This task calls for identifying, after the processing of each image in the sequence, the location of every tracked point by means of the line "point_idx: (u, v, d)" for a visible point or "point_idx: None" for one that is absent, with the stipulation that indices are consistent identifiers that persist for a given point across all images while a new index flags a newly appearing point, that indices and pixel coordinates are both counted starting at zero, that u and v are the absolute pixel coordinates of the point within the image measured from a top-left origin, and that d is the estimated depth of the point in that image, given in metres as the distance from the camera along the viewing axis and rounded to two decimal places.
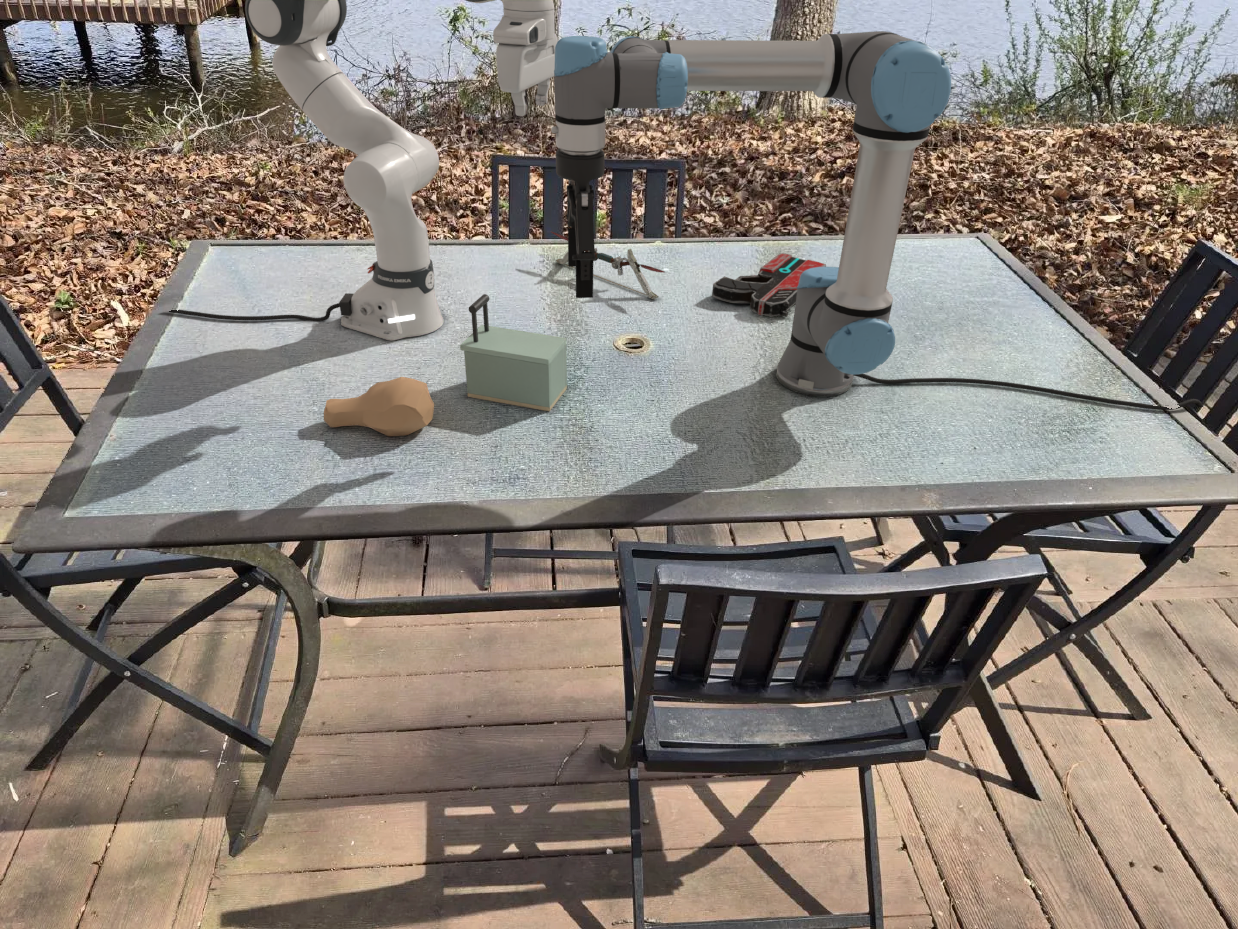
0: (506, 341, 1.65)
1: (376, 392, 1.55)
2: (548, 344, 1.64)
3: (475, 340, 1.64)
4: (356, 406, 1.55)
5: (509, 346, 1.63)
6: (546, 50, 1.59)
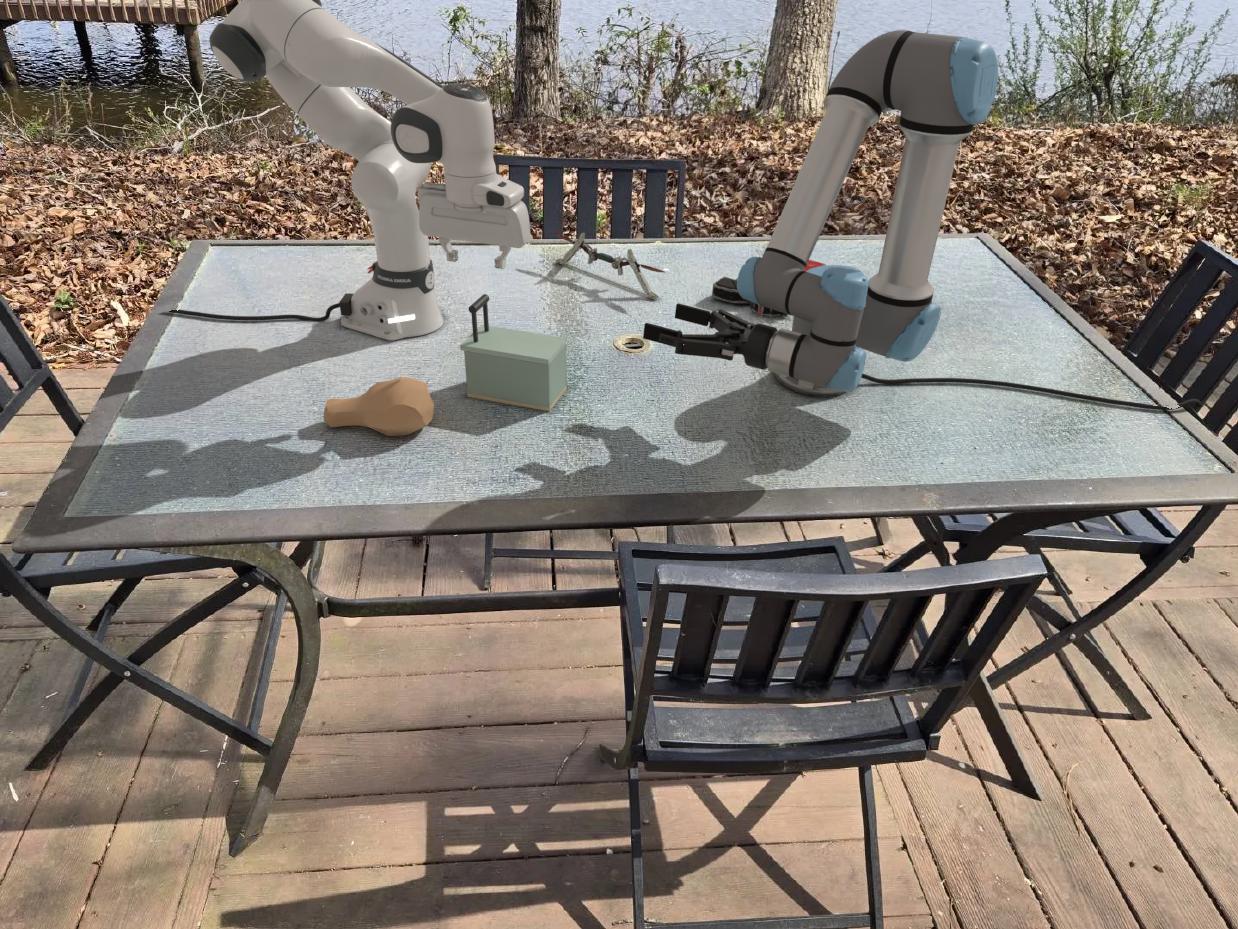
0: (506, 341, 1.65)
1: (376, 392, 1.55)
2: (548, 344, 1.64)
3: (475, 340, 1.64)
4: (356, 406, 1.55)
5: (509, 346, 1.63)
6: None
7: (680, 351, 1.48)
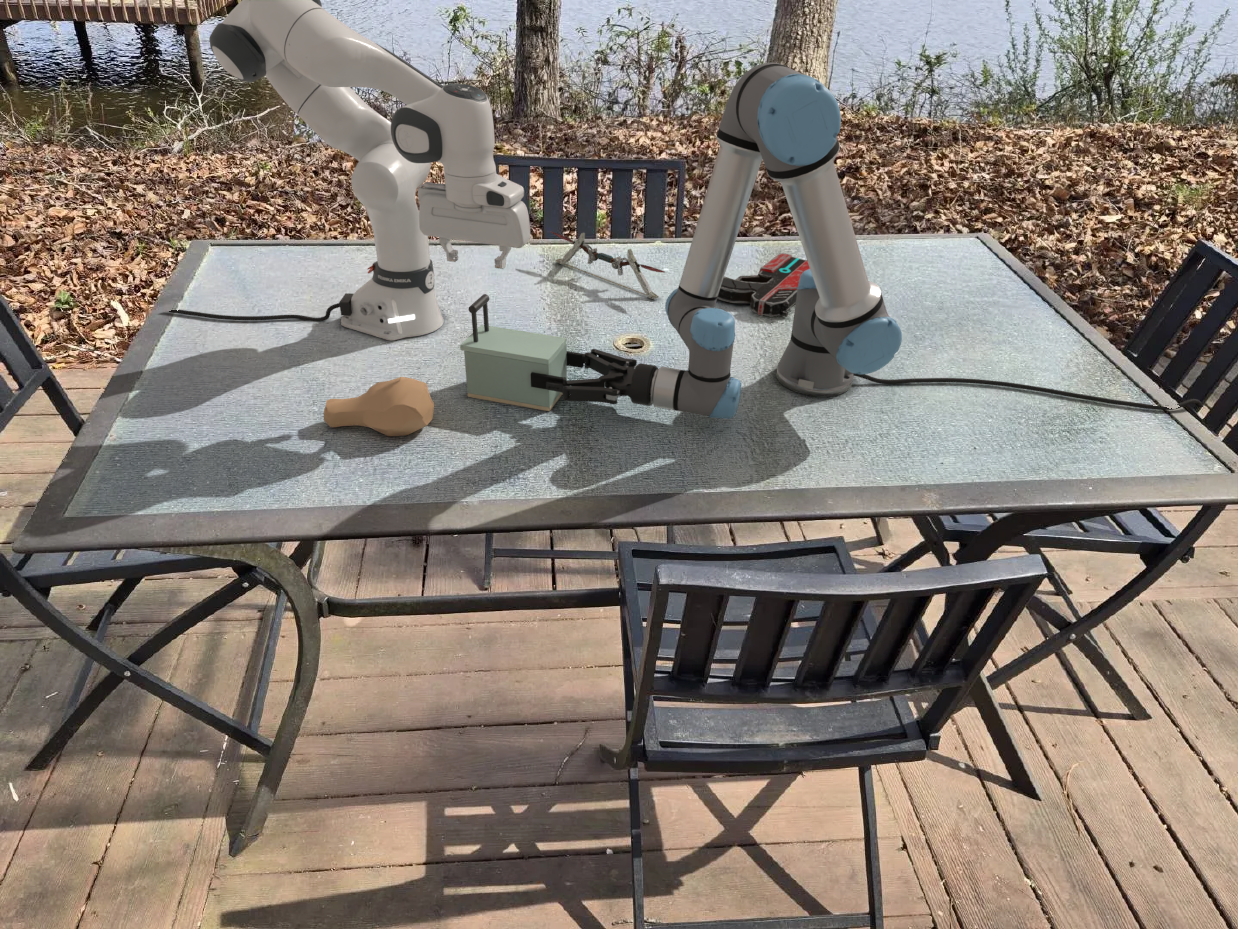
0: (506, 341, 1.65)
1: (376, 392, 1.55)
2: (548, 344, 1.64)
3: (475, 340, 1.64)
4: (356, 406, 1.55)
5: (509, 346, 1.63)
6: None
7: (568, 398, 1.58)
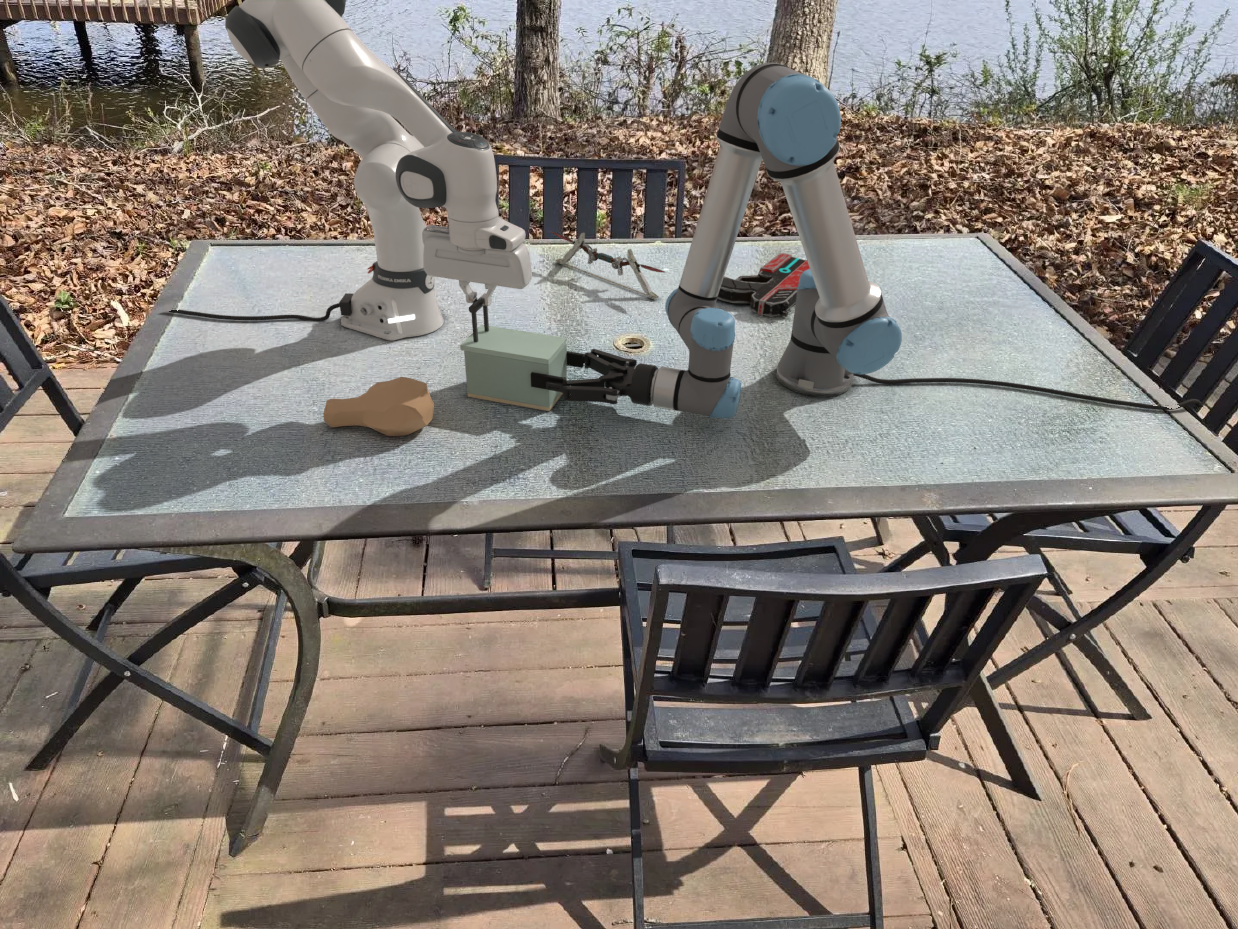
0: (506, 341, 1.65)
1: (376, 392, 1.55)
2: (548, 344, 1.64)
3: (475, 340, 1.64)
4: (356, 406, 1.55)
5: (509, 346, 1.63)
6: None
7: (568, 398, 1.58)
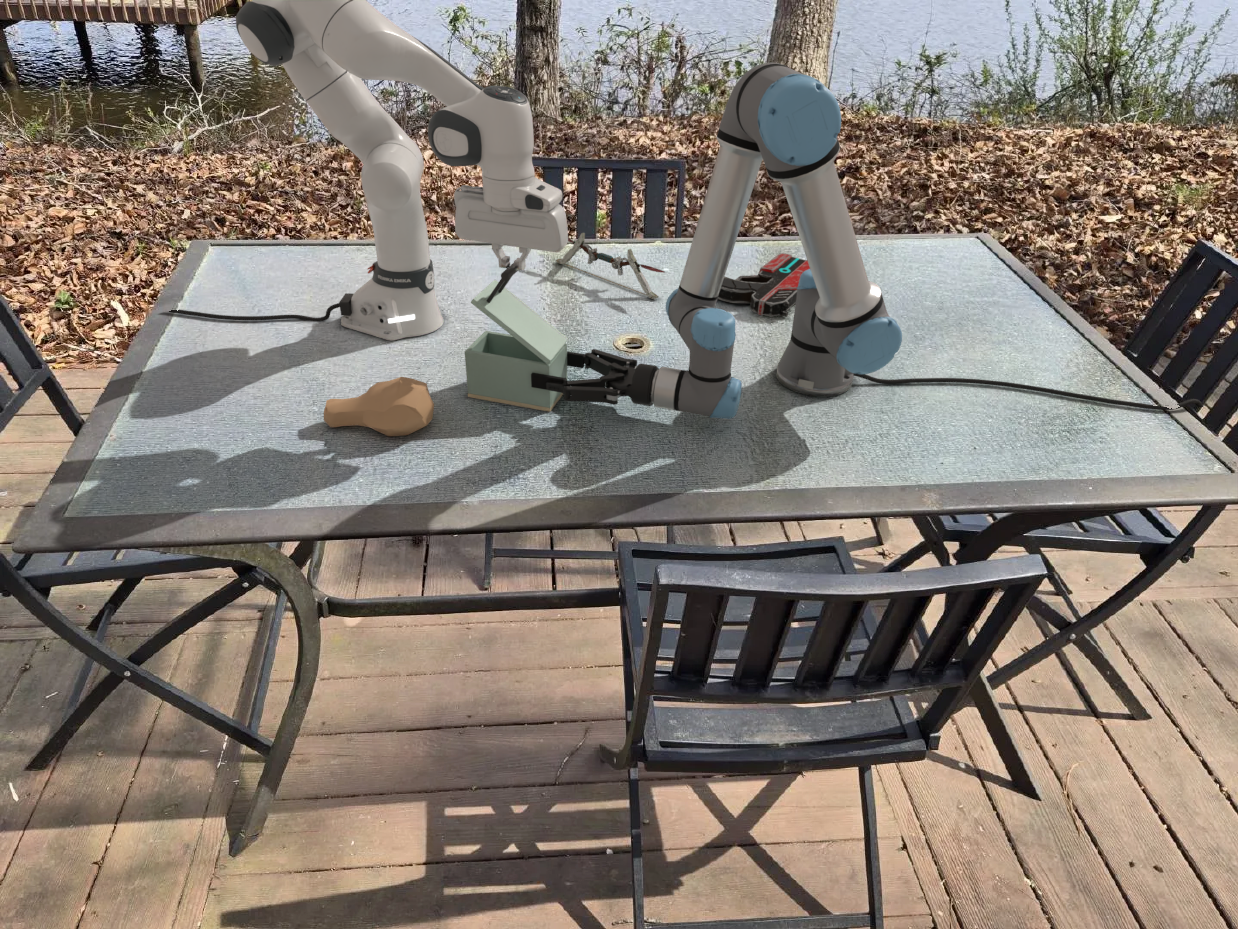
0: (515, 315, 1.61)
1: (376, 392, 1.55)
2: (552, 339, 1.63)
3: (489, 300, 1.58)
4: (356, 406, 1.55)
5: (518, 324, 1.60)
6: None
7: (568, 398, 1.58)
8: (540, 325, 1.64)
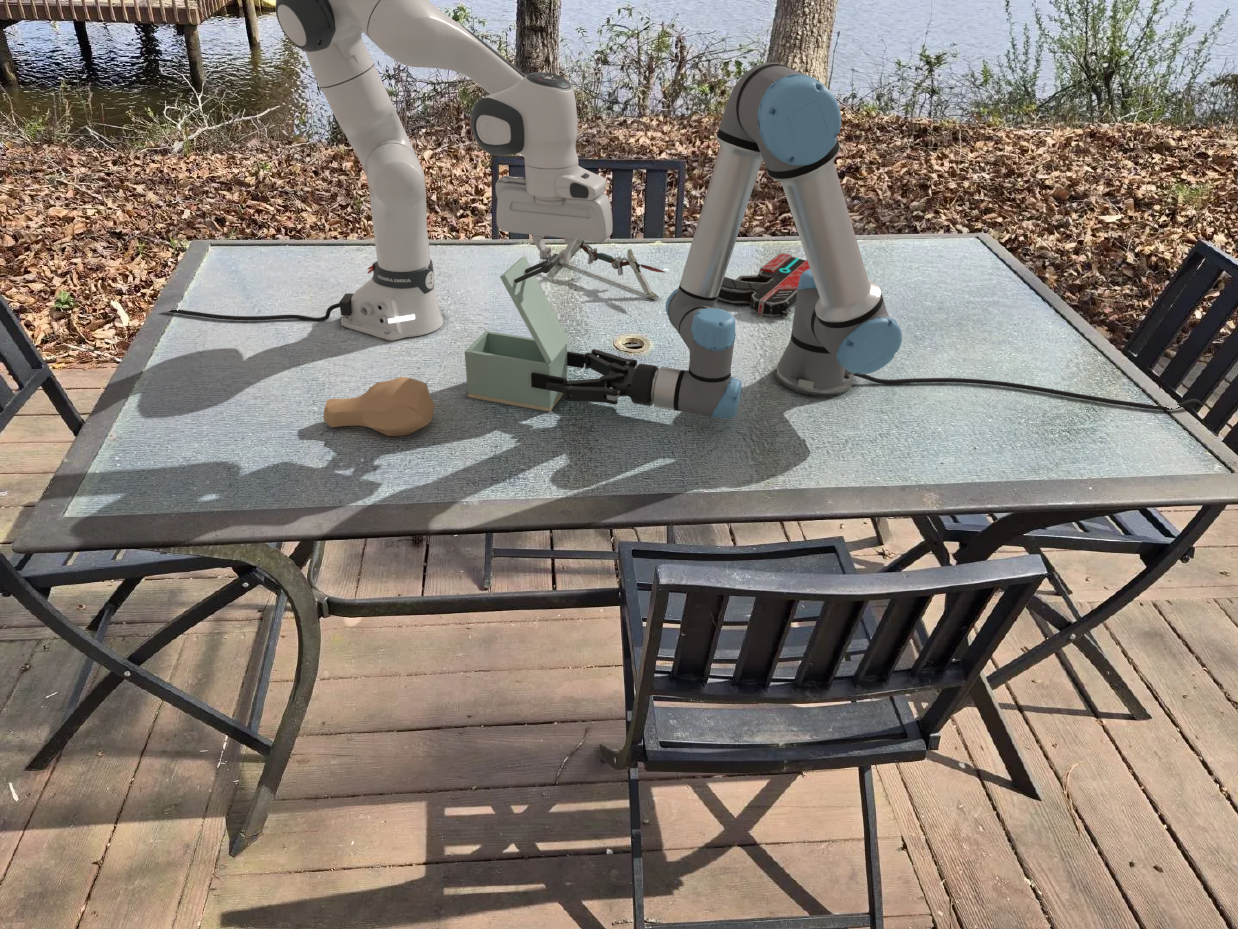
0: (533, 303, 1.59)
1: (376, 392, 1.55)
2: (557, 337, 1.63)
3: (516, 281, 1.55)
4: (356, 406, 1.55)
5: (534, 314, 1.58)
6: None
7: (568, 398, 1.58)
8: (550, 319, 1.63)
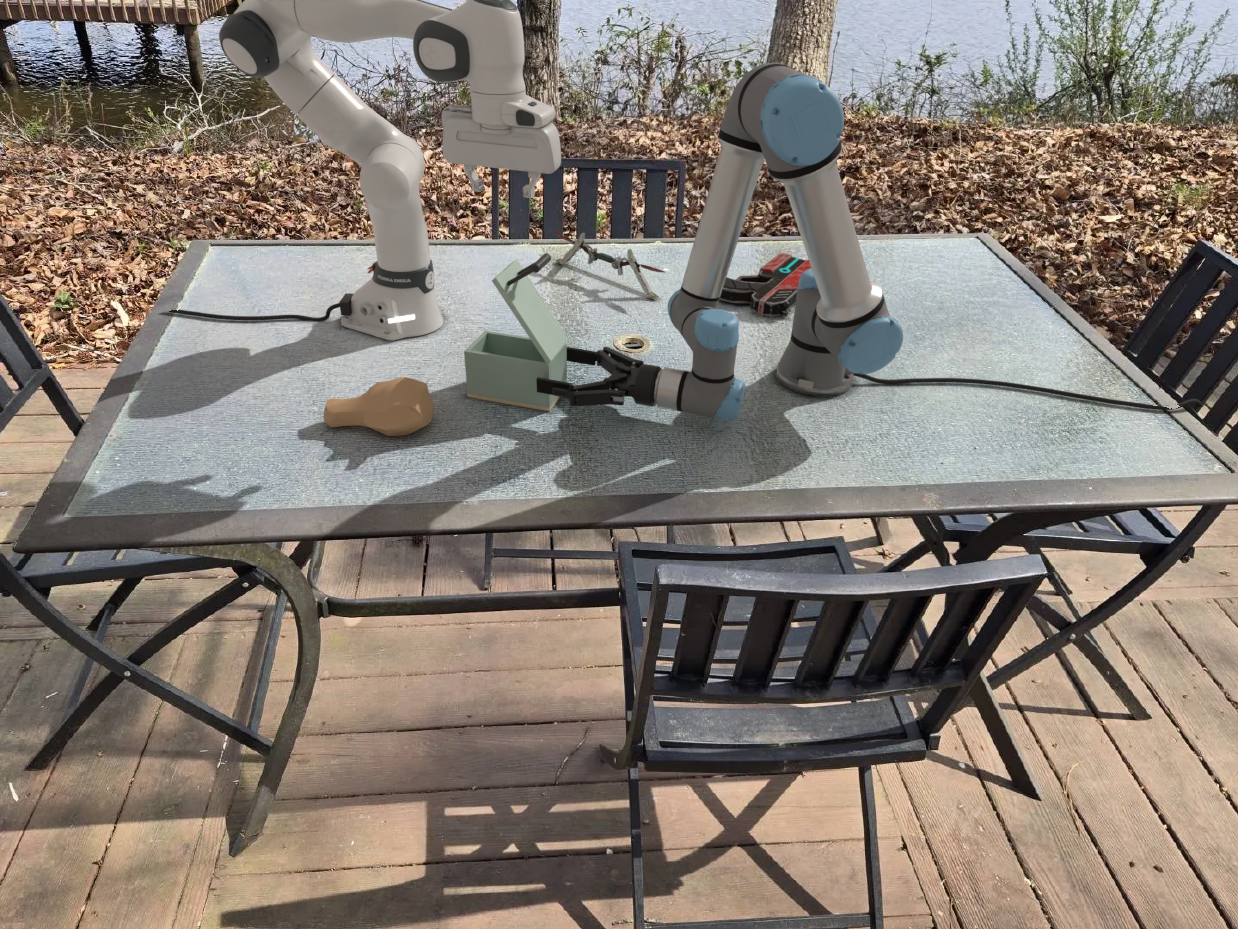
0: (528, 304, 1.59)
1: (376, 392, 1.55)
2: (555, 337, 1.63)
3: (509, 283, 1.55)
4: (356, 406, 1.55)
5: (529, 315, 1.58)
6: None
7: (574, 403, 1.56)
8: (547, 319, 1.63)
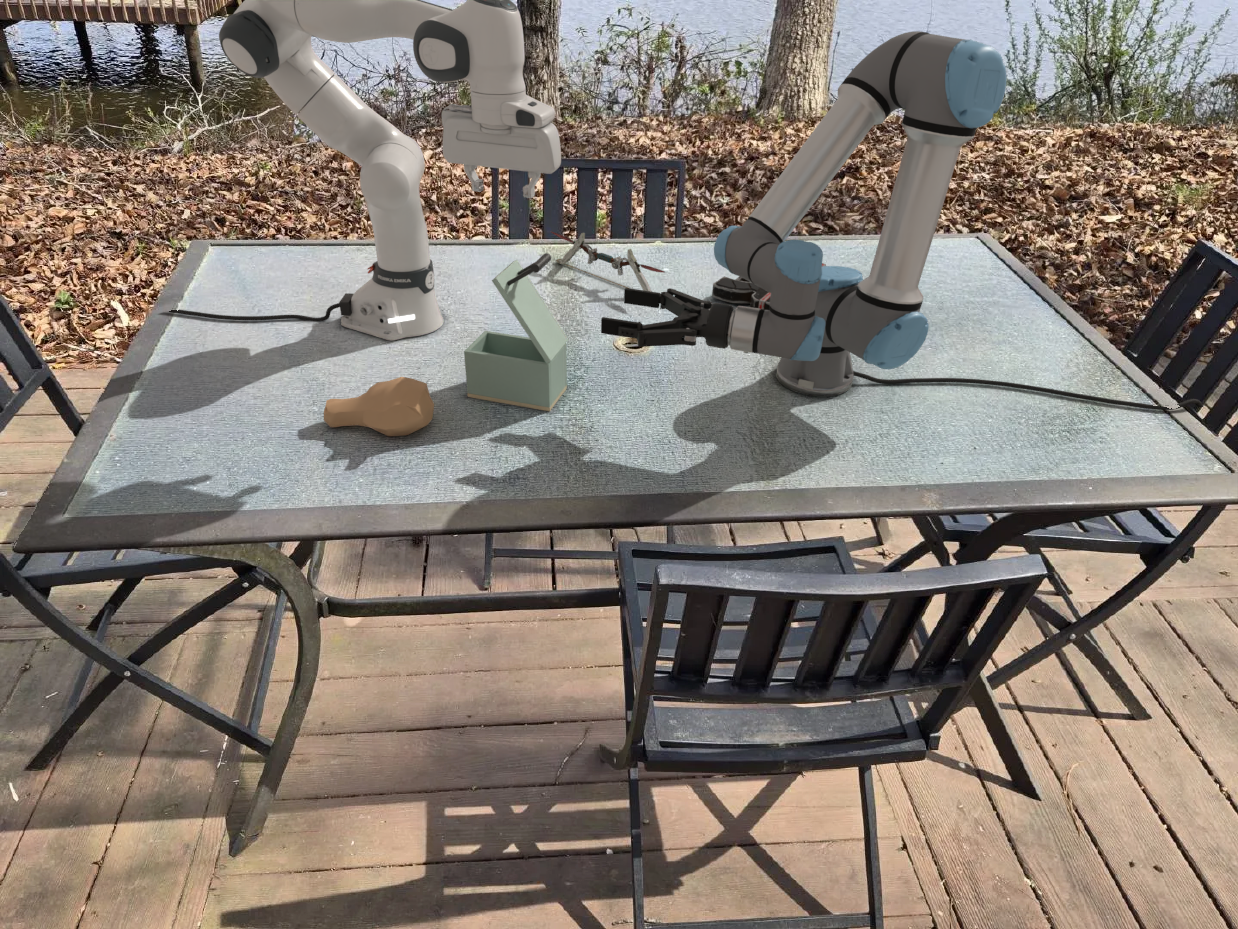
0: (528, 304, 1.59)
1: (376, 392, 1.55)
2: (555, 337, 1.63)
3: (509, 283, 1.55)
4: (356, 406, 1.55)
5: (529, 315, 1.58)
6: None
7: (643, 343, 1.46)
8: (547, 319, 1.63)
